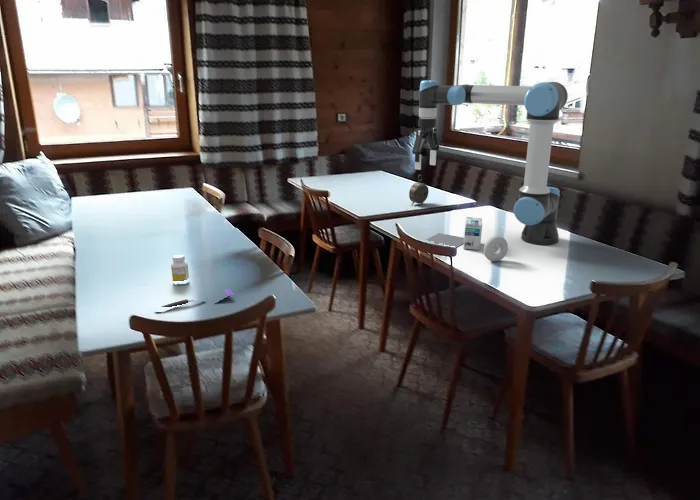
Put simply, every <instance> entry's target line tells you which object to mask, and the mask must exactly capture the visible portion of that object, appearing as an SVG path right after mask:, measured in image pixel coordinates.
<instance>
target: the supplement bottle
mask: <svg viewBox="0 0 700 500" xmlns="http://www.w3.org/2000/svg"><path fill="white" fill-rule="evenodd" d="M170 268H171V277H172V282H173V281H184V280H187V279H188V278H189V279H190V275H189V267H188V262H187V260H186V256H185V254H175V255H173V256H172V262H171V264H170Z"/></svg>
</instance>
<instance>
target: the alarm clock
mask: <svg viewBox="0 0 700 500" xmlns="http://www.w3.org/2000/svg"><path fill="white" fill-rule="evenodd" d="M420 176H421V177H423V175H422V174H418V177H417V180H418V181H417V182H414V183H413V184H412V185H411V187H410V189H409V190H408V191H409V192H408V195H409V196H408V197H409V200H410V201H411V206H413V205H414V203H415V204H419V205H421V206H423V204H424V202H425V201H426V200H427V199H428V197H429V187H428V185H427V184H426V183H423V182H422V180H423V178H421V179H420V178H419V177H420Z"/></svg>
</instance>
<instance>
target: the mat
mask: <svg viewBox="0 0 700 500" xmlns="http://www.w3.org/2000/svg"><path fill="white" fill-rule="evenodd" d="M425 240H428V241H429V242H430V241H434V243H435V244H439V243H443V245H444V244H445V245H449V246H455V247H457V248H458V247H461V246H462V245H464V236H463V237H462V236H456V235H452V234H451V235H450V234H447V233H440V232H438V233H436V234H434V235H432V236H430V237H428V238H426V239H425Z"/></svg>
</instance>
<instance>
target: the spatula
mask: <svg viewBox="0 0 700 500" xmlns="http://www.w3.org/2000/svg"><path fill="white" fill-rule="evenodd" d="M224 290H225V292H226V293H227V294H228V295H229V296H231V297H232V296H234V292H232V291H231V290H230V289H229V288H228V289H227V288H225V289H224ZM197 299H198V298H191V299H182V300H178V301H175V302H172V303H168V304H165V305H162V306H161V307H172V306H177V305H182V304H185V305H187V304H186V303H188V302H189V303H191V302H196V301H195V300H197ZM189 303H188V304H189ZM182 306H183V305H182Z"/></svg>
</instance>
